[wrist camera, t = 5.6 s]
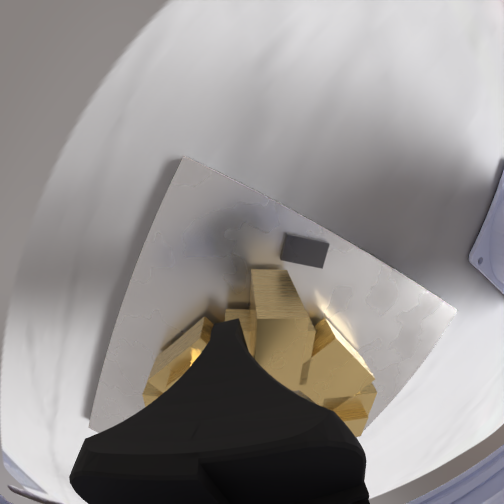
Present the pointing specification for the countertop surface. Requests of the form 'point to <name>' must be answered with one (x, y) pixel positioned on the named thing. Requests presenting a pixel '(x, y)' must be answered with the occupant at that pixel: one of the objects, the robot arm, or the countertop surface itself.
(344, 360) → the gold blocky ring
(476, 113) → the countertop surface
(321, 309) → the plate
